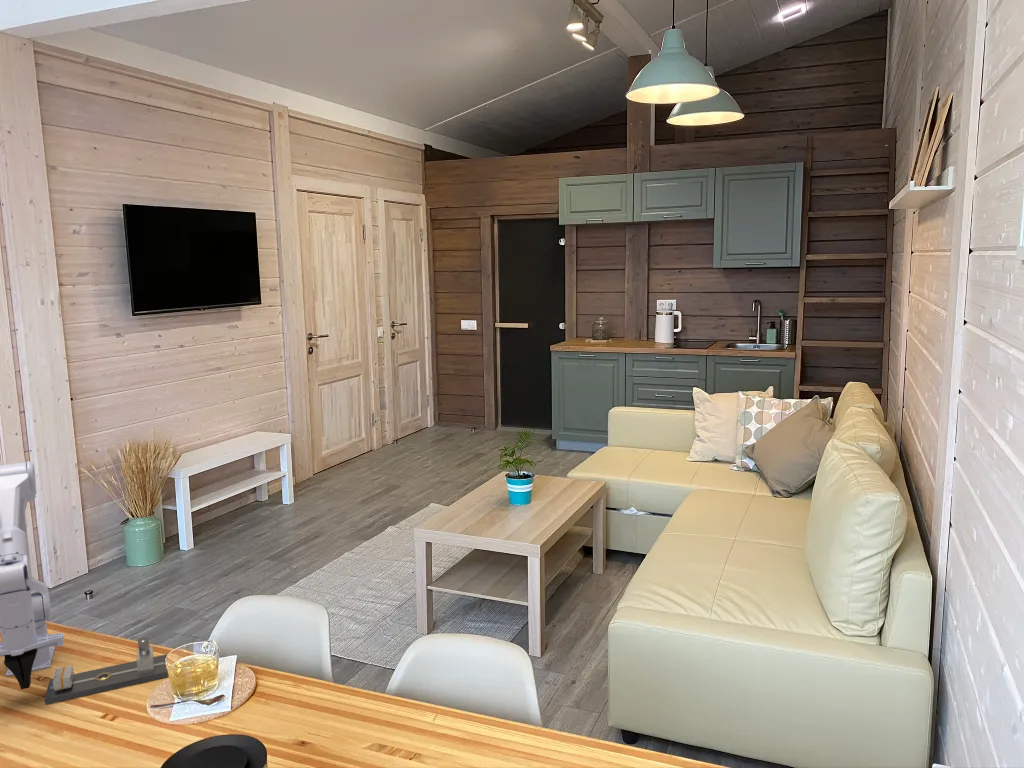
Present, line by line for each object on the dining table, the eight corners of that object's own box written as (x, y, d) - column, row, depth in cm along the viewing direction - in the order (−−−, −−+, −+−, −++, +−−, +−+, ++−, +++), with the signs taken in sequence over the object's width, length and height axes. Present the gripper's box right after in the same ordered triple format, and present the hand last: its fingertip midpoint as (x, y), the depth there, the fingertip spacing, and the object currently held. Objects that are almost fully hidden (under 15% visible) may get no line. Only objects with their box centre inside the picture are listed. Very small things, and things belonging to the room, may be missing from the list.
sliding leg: (57, 678, 156) (55, 668, 156) (73, 675, 157) (72, 664, 157) (54, 691, 151) (52, 680, 151) (71, 687, 153) (70, 676, 152)
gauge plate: (50, 684, 157) (46, 651, 156) (167, 659, 166) (164, 627, 165) (45, 704, 150) (40, 669, 148) (167, 677, 159) (164, 644, 157)
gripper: (-32, 639, 143) (-22, 706, 145) (57, 622, 149) (65, 686, 151) (-24, 623, 149) (-15, 687, 151) (61, 608, 155) (69, 670, 157)
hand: (25, 686), depth 151 cm, fingers closed
